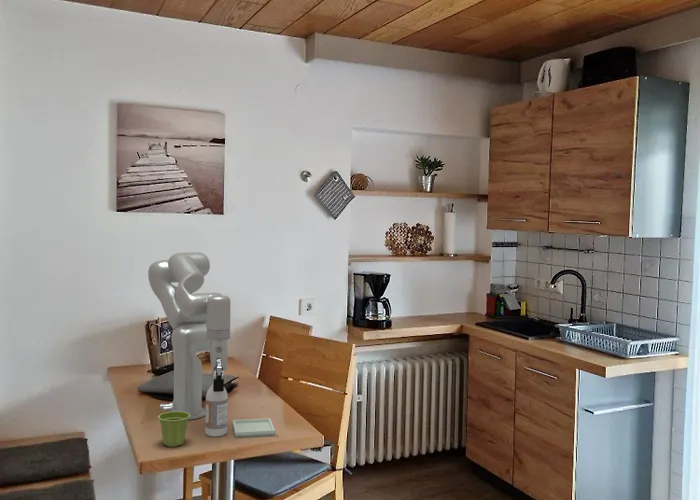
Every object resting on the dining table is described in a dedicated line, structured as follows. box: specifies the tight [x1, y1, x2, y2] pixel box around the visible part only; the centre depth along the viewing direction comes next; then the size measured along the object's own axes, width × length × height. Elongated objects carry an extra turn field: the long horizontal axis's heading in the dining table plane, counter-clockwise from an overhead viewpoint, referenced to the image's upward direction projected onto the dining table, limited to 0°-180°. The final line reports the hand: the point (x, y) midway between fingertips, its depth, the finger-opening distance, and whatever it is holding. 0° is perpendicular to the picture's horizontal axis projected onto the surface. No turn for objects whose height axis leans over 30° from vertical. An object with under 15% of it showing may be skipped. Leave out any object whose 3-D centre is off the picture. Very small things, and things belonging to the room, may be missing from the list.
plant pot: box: [157, 411, 190, 448], centre depth 197 cm, size 9×9×9 cm
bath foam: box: [204, 371, 229, 438], centre depth 207 cm, size 7×7×20 cm
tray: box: [232, 417, 276, 439], centre depth 211 cm, size 13×13×2 cm
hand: (217, 387), depth 206 cm, fingers open, 9 cm apart
